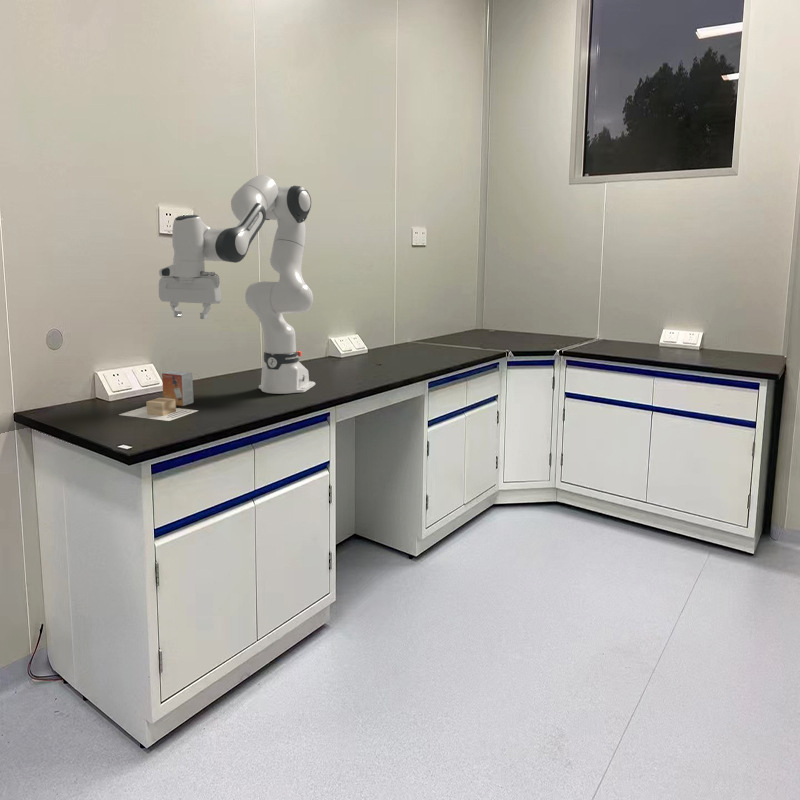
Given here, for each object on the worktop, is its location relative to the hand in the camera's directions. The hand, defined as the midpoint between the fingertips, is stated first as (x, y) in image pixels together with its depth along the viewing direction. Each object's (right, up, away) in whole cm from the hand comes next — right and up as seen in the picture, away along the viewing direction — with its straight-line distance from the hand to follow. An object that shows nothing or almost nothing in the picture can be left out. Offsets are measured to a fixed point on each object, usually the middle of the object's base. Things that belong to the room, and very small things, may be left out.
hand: (190, 318), depth 196 cm
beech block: (-11, -29, +7) cm, 32 cm away
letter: (-12, -29, +7) cm, 32 cm away
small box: (-10, -26, +20) cm, 34 cm away
